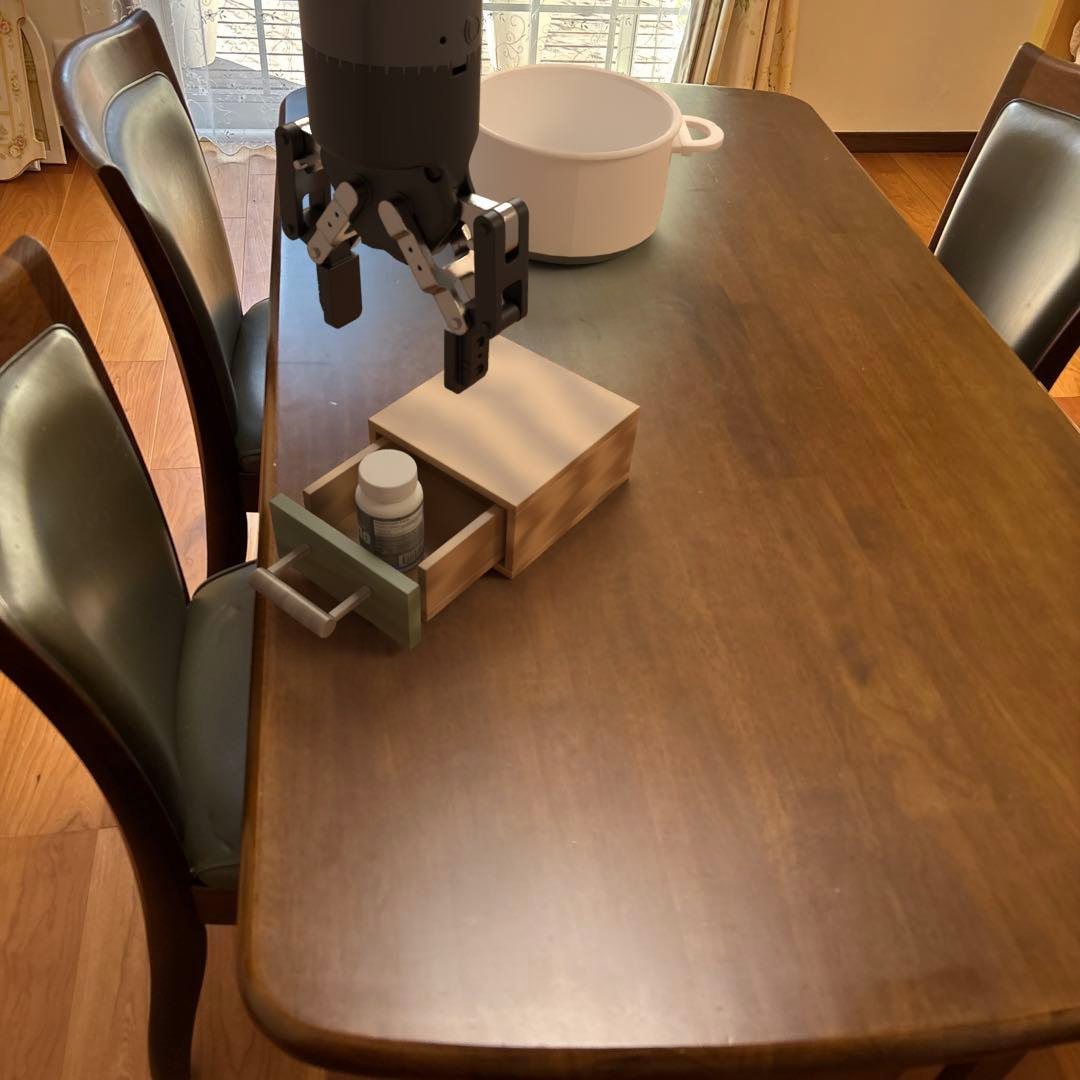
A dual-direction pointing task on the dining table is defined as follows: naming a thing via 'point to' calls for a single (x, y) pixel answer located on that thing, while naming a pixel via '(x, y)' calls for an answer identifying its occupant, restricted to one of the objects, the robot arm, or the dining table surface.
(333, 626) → the drawer
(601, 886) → the dining table surface
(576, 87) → the pot
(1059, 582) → the dining table surface
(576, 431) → the cabinet
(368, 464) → the pill bottle
